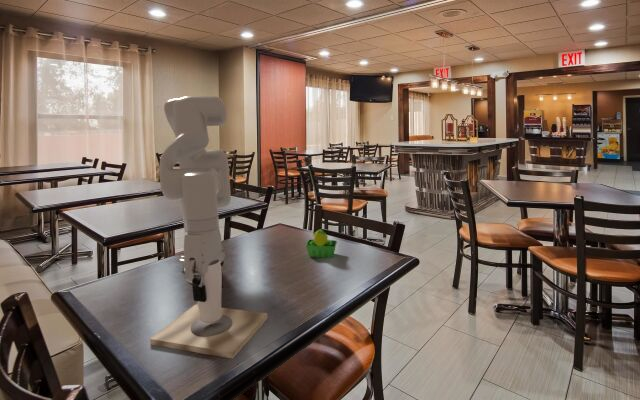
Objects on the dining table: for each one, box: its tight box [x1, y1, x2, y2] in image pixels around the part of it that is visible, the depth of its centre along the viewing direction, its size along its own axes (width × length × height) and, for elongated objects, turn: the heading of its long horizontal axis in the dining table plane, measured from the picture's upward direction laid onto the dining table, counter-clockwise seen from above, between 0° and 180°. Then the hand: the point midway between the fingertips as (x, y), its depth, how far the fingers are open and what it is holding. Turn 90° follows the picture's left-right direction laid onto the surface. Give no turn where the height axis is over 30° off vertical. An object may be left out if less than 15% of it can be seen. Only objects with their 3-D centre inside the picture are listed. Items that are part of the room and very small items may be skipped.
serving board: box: [149, 303, 268, 359], centre depth 95 cm, size 22×18×2 cm
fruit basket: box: [305, 229, 338, 259], centre depth 146 cm, size 11×9×11 cm
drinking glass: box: [195, 259, 223, 323], centre depth 93 cm, size 7×7×15 cm
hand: (208, 293), depth 93 cm, fingers closed on drinking glass, 6 cm apart
